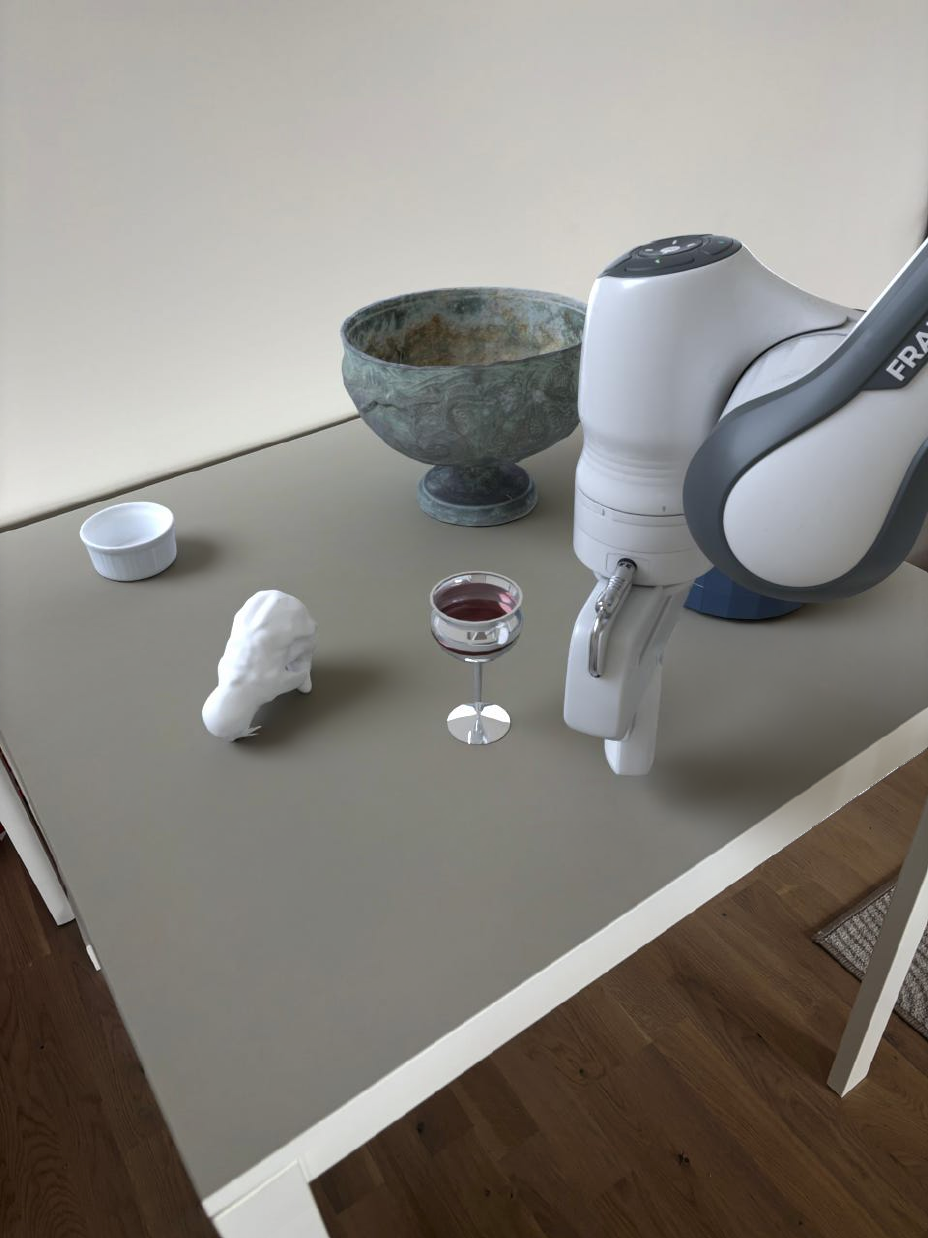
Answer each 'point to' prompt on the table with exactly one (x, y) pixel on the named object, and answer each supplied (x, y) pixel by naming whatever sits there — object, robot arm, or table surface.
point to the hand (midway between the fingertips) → (633, 700)
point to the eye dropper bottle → (638, 735)
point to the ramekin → (130, 540)
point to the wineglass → (476, 641)
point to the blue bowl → (733, 599)
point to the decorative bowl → (468, 389)
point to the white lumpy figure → (261, 661)
